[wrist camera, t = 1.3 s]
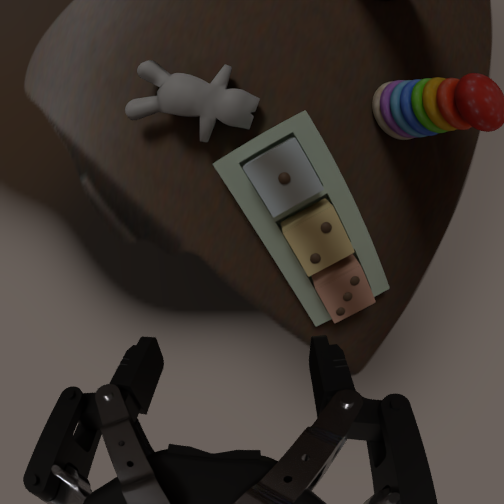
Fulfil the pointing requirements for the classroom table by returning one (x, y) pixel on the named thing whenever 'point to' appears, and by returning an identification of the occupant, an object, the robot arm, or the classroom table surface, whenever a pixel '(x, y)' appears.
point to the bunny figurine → (194, 99)
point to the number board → (271, 227)
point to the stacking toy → (438, 106)
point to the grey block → (283, 176)
